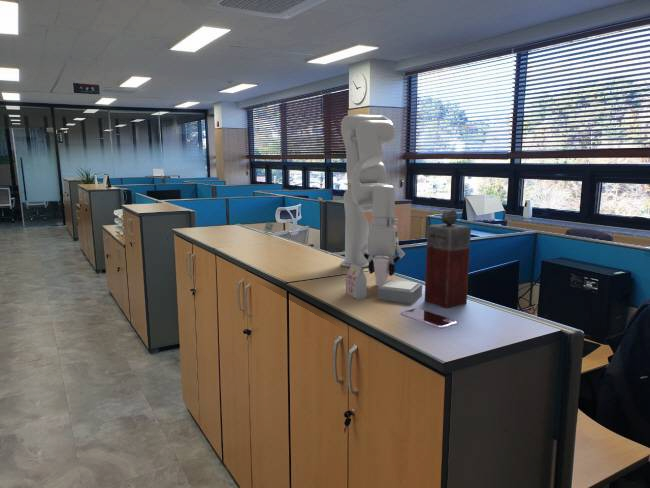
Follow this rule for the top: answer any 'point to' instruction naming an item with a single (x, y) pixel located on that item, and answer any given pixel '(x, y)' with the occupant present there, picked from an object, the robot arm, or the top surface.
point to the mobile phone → (429, 318)
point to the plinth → (400, 291)
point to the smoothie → (381, 269)
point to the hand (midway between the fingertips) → (381, 273)
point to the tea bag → (356, 282)
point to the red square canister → (447, 262)
